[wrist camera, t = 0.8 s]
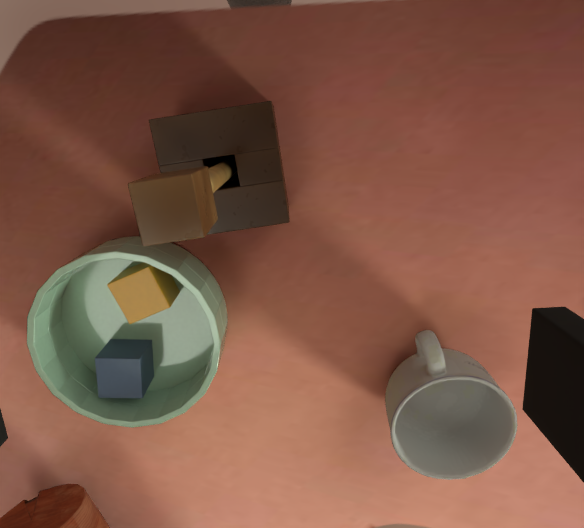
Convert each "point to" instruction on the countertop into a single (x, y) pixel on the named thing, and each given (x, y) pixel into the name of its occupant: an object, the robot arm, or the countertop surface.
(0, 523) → the potted plant
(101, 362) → the slate block
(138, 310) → the mustard block
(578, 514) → the countertop surface
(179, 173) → the brown wooden peg
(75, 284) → the bowl
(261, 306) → the countertop surface
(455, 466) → the teacup
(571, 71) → the countertop surface
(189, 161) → the holder
